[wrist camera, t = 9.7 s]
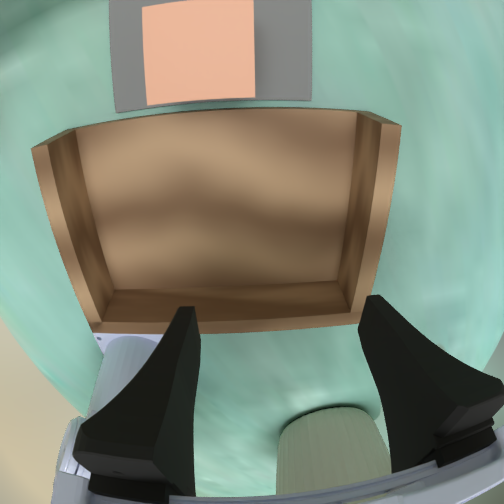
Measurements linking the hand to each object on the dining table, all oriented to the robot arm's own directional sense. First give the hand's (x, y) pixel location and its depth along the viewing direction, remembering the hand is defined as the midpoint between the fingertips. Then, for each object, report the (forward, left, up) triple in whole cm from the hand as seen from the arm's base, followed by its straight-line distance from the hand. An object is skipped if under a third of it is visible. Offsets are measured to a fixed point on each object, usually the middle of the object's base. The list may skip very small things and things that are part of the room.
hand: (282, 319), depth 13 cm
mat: (+13, +3, -10) cm, 17 cm away
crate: (0, +3, -10) cm, 11 cm away
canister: (-33, -9, -11) cm, 36 cm away
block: (+11, +3, -10) cm, 15 cm away
